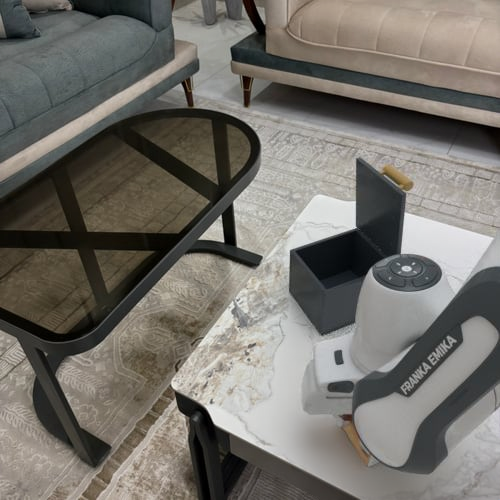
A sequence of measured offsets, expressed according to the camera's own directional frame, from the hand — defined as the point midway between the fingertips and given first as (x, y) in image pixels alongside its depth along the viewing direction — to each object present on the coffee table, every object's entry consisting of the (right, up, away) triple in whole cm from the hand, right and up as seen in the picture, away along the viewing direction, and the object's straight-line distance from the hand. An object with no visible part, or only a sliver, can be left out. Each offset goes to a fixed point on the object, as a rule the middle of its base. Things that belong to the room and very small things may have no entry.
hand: (371, 421), depth 71 cm
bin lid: (+4, +31, +14) cm, 34 cm away
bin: (-1, +15, +24) cm, 28 cm away
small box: (0, -3, +3) cm, 4 cm away
